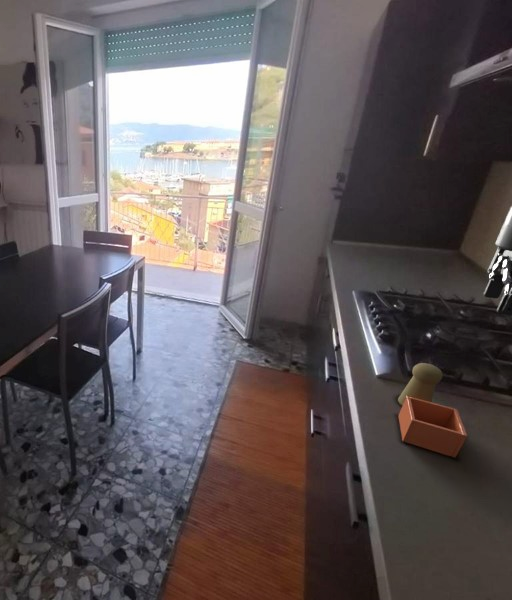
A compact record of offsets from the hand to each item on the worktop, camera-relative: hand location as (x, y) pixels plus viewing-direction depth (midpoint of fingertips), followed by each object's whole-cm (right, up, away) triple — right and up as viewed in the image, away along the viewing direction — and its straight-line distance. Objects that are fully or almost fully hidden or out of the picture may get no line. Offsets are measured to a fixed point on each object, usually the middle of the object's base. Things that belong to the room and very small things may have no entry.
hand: (497, 305), depth 70 cm
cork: (-3, -24, +16) cm, 29 cm away
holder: (-8, -28, +7) cm, 30 cm away
